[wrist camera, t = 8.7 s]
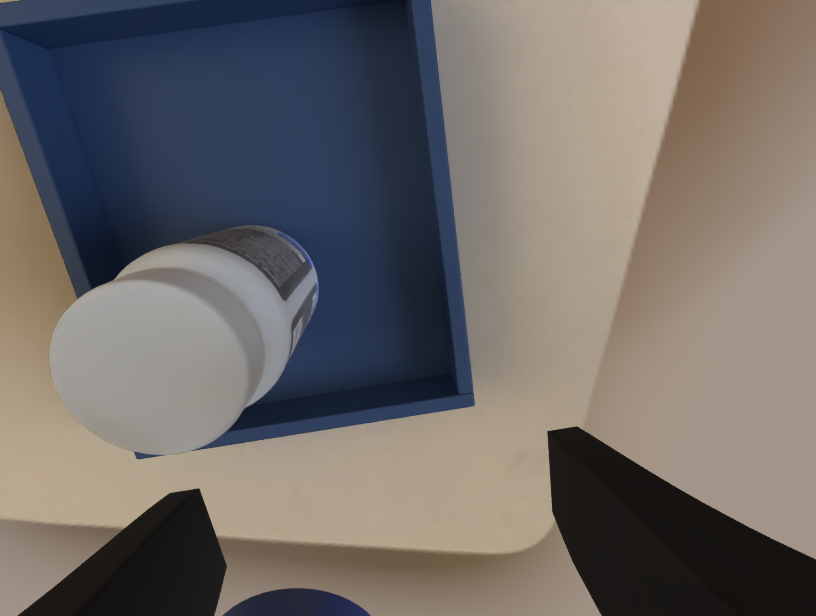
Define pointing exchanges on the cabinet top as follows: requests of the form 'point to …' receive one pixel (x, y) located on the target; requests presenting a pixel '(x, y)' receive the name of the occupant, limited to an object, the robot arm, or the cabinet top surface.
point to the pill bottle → (184, 338)
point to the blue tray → (260, 174)
